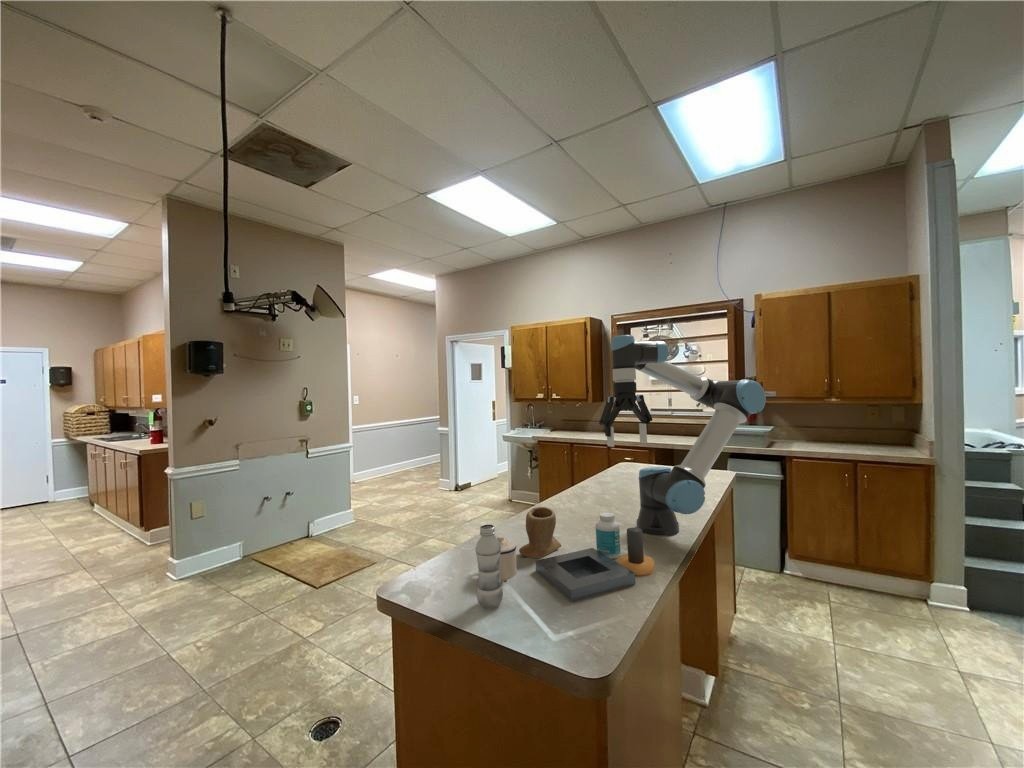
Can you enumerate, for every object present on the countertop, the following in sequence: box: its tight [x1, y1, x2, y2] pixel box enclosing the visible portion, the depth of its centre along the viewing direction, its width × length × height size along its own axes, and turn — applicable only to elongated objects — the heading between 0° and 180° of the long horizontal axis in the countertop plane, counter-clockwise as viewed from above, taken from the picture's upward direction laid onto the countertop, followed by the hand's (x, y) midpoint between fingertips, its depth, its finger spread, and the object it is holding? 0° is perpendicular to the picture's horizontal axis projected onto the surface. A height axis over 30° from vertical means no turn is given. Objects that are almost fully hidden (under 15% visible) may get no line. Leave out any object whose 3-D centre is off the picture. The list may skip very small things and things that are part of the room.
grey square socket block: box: [535, 547, 636, 603], centre depth 116 cm, size 20×20×4 cm
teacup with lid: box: [496, 535, 518, 583], centre depth 122 cm, size 12×9×12 cm
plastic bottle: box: [475, 523, 504, 609], centre depth 105 cm, size 6×7×20 cm
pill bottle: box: [595, 512, 622, 560], centre depth 131 cm, size 8×7×14 cm
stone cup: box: [518, 506, 562, 559], centre depth 137 cm, size 15×12×15 cm
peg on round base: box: [617, 527, 656, 576], centre depth 121 cm, size 10×10×12 cm
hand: (627, 444), depth 138 cm, fingers open, 13 cm apart
